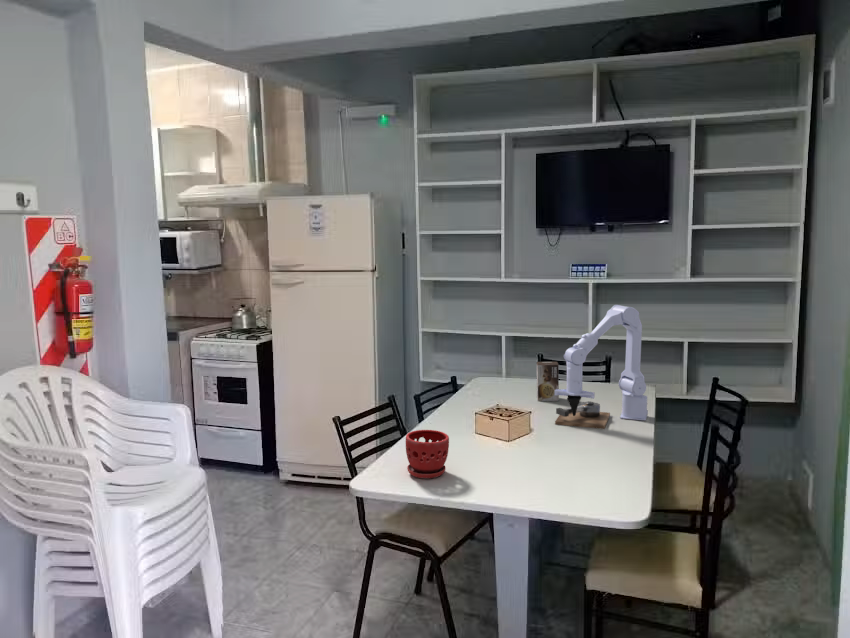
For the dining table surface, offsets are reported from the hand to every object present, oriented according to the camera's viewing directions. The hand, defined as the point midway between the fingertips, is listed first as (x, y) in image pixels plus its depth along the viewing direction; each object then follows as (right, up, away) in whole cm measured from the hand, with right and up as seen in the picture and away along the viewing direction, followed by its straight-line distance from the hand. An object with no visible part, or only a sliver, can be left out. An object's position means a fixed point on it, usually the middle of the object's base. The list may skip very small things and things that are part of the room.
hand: (574, 415), depth 234 cm
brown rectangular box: (-3, +1, +36) cm, 36 cm away
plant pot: (-55, -11, -45) cm, 72 cm away
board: (+5, -3, +5) cm, 7 cm away
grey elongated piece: (+3, -1, +4) cm, 5 cm away
